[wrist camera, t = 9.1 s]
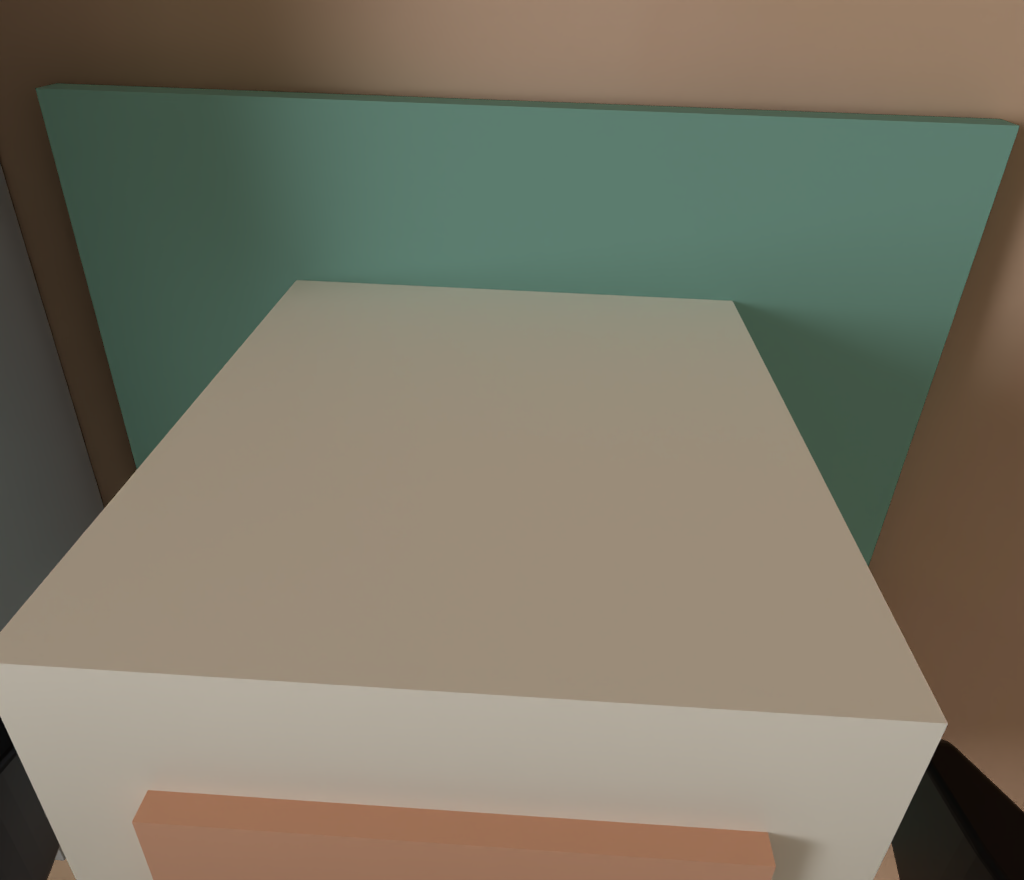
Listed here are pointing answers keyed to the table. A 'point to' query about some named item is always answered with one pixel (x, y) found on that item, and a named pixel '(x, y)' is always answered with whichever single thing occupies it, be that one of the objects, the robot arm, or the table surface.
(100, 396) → the table surface
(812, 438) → the rubber mat
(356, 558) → the box
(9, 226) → the bin
